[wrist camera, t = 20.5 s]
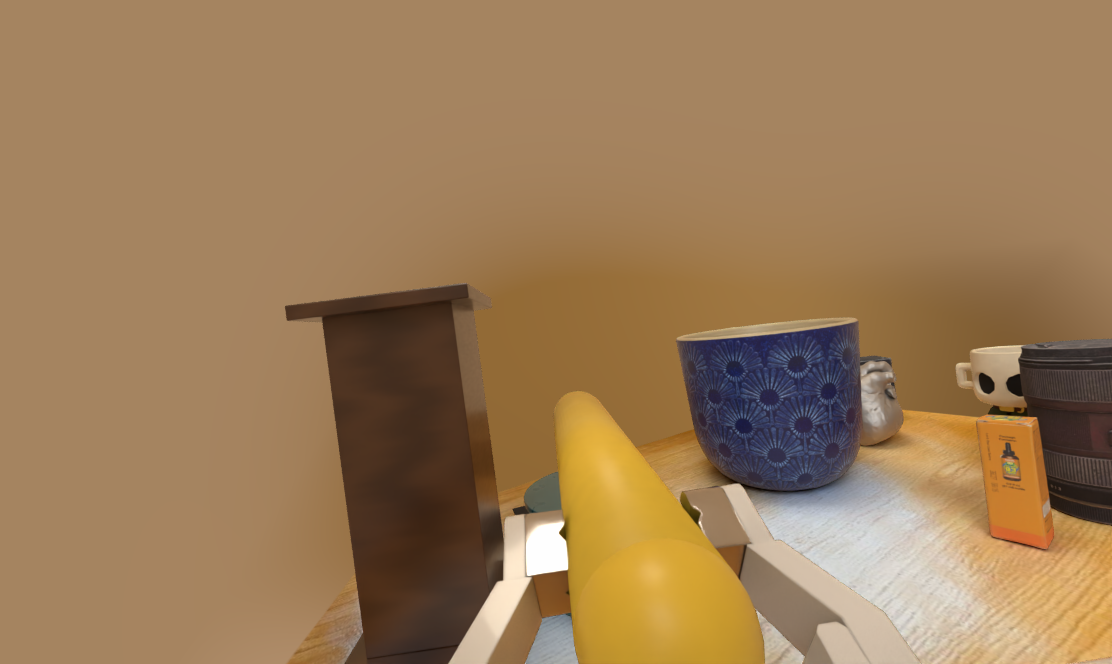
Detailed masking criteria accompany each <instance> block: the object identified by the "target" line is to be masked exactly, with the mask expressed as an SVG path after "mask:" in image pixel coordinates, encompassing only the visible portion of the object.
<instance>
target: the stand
mask: <svg viewBox="0 0 1112 664" xmlns="http://www.w3.org/2000/svg"><path fill="white" fill-rule="evenodd" d="M488 308H492V306H491V299H490V297H488V296H486V295H485V294H483V293H481V292H480V291H478V290H477V289H475V288H474V287H472V286H470V285H469V284H467V283H462V284H454V285H446V286H438V287H430V288H422V289H414V290H407V291H399V292H391V293H383V294H375V295H367V296H359V297H352V298H343V299H335V300H329V301H320V302H312V303H304V304H297V305H288V306H285V310H286V318H287V320H288V321H304V322H322V323H323V329H324V338H325V345H326V353H327V361H328V368H329V375H330V383H331V391H332V399H333V406H334V414H335V421H336V429H337V437H338V443H339V452H340V459H341V467H342V474H343V482H344V490H345V497H346V505H347V512H348V520H349V527H350V535H351V543H352V550H353V558H354V566H355V573H356V581H357V588H358V596H359V604H360V611H361V619H362V626H363V634H362V636H361V637H360V639H359V641H358V642H357V644H356V645H355V647H354V649H353V650H352V652H351V654H350V655H349V657H348V659H347V660H346V662H345V664H448V663H449V662H450V660H451V658H452V657H453V655H454V653H455V652H456V650H457V648H458V647H459V645H460V643H461V642H462V640H463V638H464V636H465V635H466V633H467V631H468V630H469V628H470V626H471V625H472V623H473V621H474V620H475V618H476V616H477V615H478V613H479V611H480V610H481V608H482V606H483V605H484V603H485V601H486V600H487V598H488V596H489V594H490V593H491V591H492V589H493V588H494V586H495V584H496V583H497V581H502V580H503V560H504V540H503V532H502V524H501V517H500V509H499V501H498V494H497V486H496V478H495V471H494V464H493V455H492V448H491V440H490V434H489V425H488V417H487V410H486V402H485V394H484V387H483V379H482V371H481V364H480V356H479V348H478V341H477V334H476V326H475V318H474V310H481V309H488Z"/></svg>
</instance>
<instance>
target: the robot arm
mask: <svg viewBox="0 0 1112 664" xmlns="http://www.w3.org/2000/svg"><path fill="white" fill-rule="evenodd" d="M680 502H681V504H682V507H683V508H684V509H685V511H686V512H687V513H688V514H689V516H690V517H691V518H692V519H693V521H694V522H695V523H696V524H697V526H698V527H699V528H700V529H701V531H702V532H703V533H704V535H705V536H706V537H707V538H708V540H709V541H710V542H711V543H712V545H713V546H714V547H715V548H716V550H717V551H718V552H719V553H720V555H721V556H722V557H723V559H724V560H725V561H726V562H727V564H728V565H729V566H730V567H731V569H732V570H733V571H734V572H735V574H736V575H737V577H738V578H739V580H740V581H741V583H742V585H743V586H744V588H745V590H746V591H747V593H748V595H749V597H750V599H751V601H752V603H753V606H754V608H755V609H756V610H758V611H759V612H760V613H761V614H762V615H763V616H764V617H765V618H766V619H767V620H768V621H769V622H770V623H771V624H772V625H773V626H774V627H775V628H776V629H777V630H778V631H779V632H780V633H781V634H782V635H783V636H784V637H785V638H786V639H787V640H788V641H789V642H790V643H791V644H792V645H793V646H794V647H795V648H796V649H798V650H799V651H800V652H801V653H802V654H803V655H804V656H805V658H804V660H803V663H802V664H921V662H920V661H919V659H918V658H917V657H916V655H915V654H914V652H913V651H912V650H911V648H910V647H909V645H908V644H907V643H906V641H905V640H904V638H903V637H902V636H901V634H900V633H899V632H898V630H897V629H896V627H895V626H894V625H893V623H892V622H891V620H890V619H889V618H888V616H887V615H886V613H885V612H883V611H882V610H880V609H879V608H878V607H876V606H875V605H873V604H872V603H870V602H869V601H868V600H866V599H865V598H863V597H862V596H860V595H859V594H858V593H856V592H855V591H853V590H852V589H850V588H849V587H847V586H846V585H845V584H843V583H842V582H840V581H839V580H837V579H836V578H835V577H833V576H832V575H830V574H829V573H827V572H826V571H825V570H823V569H822V568H820V567H819V566H817V565H816V564H815V563H813V562H812V561H810V560H809V559H807V558H806V557H804V556H803V555H802V554H800V553H799V552H797V551H796V550H794V549H793V548H792V547H790V546H789V545H787V544H786V543H784V542H783V541H782V540H774V538H773V537H772V535H771V533H770V532H769V530H768V528H767V527H766V525H765V523H764V522H763V520H762V518H761V517H760V515H759V513H758V511H757V510H756V508H755V506H754V505H753V503H752V501H751V500H750V498H749V496H748V495H747V493H746V491H745V490H744V488H743V487H742V486H741V485H740V484H731V485H725V486H714V487H708V488H702V489H695V490H689V491H683V492H682V493H681V496H680ZM567 613H571V605H570V594H569V583H568V551H567V543H566V530H565V522H564V515H563V509H562V510H554V511H546V512H538V513H530V514H521V515H514V516H507V517H506V518H505V523H504V560H503V580H502V581H497V583H496V584H495V586H494V588H493V589H492V591H491V593H490V594H489V596H488V598H487V600H486V601H485V603H484V605H483V606H482V608H481V610H480V611H479V613H478V615H477V616H476V618H475V620H474V621H473V623H472V625H471V626H470V628H469V630H468V631H467V633H466V635H465V636H464V638H463V640H462V642H461V643H460V645H459V647H458V648H457V650H456V652H455V653H454V655H453V657H452V658H451V660H450V662H449V663H448V664H525V661H526V659H527V657H528V654H529V652H530V649H531V647H532V644H533V642H534V640H535V637H536V635H537V632H538V630H539V627H540V625H541V623H542V618H545V617H550V616H556V615H561V614H567ZM1069 664H1112V657H1107V658H1101V659H1094V660H1088V661H1082V662H1075V663H1069Z"/></svg>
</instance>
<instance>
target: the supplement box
mask: <svg viewBox="0 0 1112 664" xmlns="http://www.w3.org/2000/svg"><path fill="white" fill-rule="evenodd" d="M976 426H977V432H978V440H979V446H980V453H981V462H982V470H983V477H984V485H985V493H986V501H987V509H988V518H989V527H990V534H991V535H992V536H993V537H996V538H1000V539H1005V540H1010V541H1014V542H1018V543H1023V544H1027V545H1031V546H1034V547H1037V548H1041V549H1047V548H1048V546H1049V545H1050V543H1051V541H1052V539H1053V538H1054V529H1053V521H1052V514H1051V507H1050V500H1049V492H1048V486H1047V478H1046V472H1045V465H1044V458H1043V451H1042V444H1041V437H1040V431H1039V425H1038V420H1037V418H1036V417H1020V416H1003V415H984V416H982V417H980V418H979V419H977V421H976Z"/></svg>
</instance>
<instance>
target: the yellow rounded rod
mask: <svg viewBox="0 0 1112 664" xmlns="http://www.w3.org/2000/svg"><path fill="white" fill-rule="evenodd" d="M553 419H554V431H555V442H556V453H557V462H558V463H557V464H558V475H559V485H560V496H561V507H562V509H563V515H564V522H565V530H566V543H567V551H568V583H569V594H570V605H571V616H572V626H573V637H574V646H575V650H576V655H577V658H578V663H579V664H765V656H764V640H763V636H762V632H761V628H760V624H759V620H758V617H757V613H756V610H755V608H754V606H753V603H752V601H751V599H750V597H749V595H748V593H747V591H746V590H745V588H744V586H743V585H742V583H741V581H740V580H739V578H738V577H737V575H736V574H735V572H734V571H733V570H732V569H731V567H730V566H729V565H728V564H727V562H726V561H725V560H724V559H723V557H722V556H721V555H720V553H719V552H718V551H717V550H716V548H715V547H714V546H713V545H712V543H711V542H710V541H709V540H708V538H707V537H706V536H705V535H704V533H703V532H702V531H701V529H700V528H699V527H698V526H697V524H696V523H695V522H694V521H693V519H692V518H691V517H690V516H689V514H688V513H687V512H686V511H685V509H684V508H683V507H682V505H681V504H680V503H679V502H678V500H677V499H676V498H675V497H674V495H673V494H672V493H671V492H670V490H669V489H668V488H667V486H666V485H665V484H664V483H663V481H662V480H661V479H660V478H659V476H658V475H657V474H656V473H655V471H654V470H653V469H652V468H651V466H650V465H649V464H648V462H647V461H646V460H645V459H644V457H643V456H642V455H641V454H640V452H639V451H638V450H637V449H636V447H635V446H634V445H633V444H632V442H631V441H630V440H629V438H628V437H627V436H626V435H625V433H624V432H623V431H622V430H621V428H620V427H619V426H618V425H617V423H616V422H615V421H614V420H613V418H612V417H611V416H610V414H609V413H608V412H607V411H606V410H605V408H604V407H603V406H602V404H601V403H600V402H599V401H598V399H597V398H595V397H594V396H593V395H591V394H589V393H587V392H583V391H575V392H570V393H568V394H566V395H564V396H563V397H562V398H561V399H560V400H559V401H558V403H557V404H556V406H555V409H554V413H553Z"/></svg>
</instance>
